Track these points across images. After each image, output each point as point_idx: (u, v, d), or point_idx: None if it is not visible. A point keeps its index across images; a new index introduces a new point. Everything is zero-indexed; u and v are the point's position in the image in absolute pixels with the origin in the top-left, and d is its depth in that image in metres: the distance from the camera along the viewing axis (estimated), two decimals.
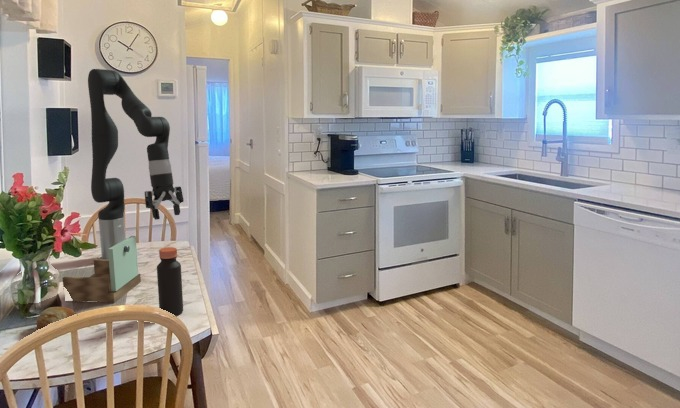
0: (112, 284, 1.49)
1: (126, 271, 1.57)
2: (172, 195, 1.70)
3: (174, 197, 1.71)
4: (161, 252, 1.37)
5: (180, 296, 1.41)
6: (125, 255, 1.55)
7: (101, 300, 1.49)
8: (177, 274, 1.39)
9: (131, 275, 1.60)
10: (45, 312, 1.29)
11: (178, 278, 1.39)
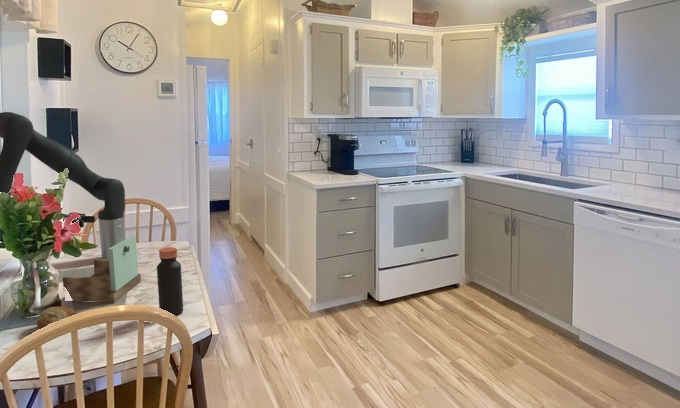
0: (112, 284, 1.49)
1: (126, 271, 1.57)
2: None
3: None
4: (161, 252, 1.37)
5: (180, 296, 1.41)
6: (125, 255, 1.55)
7: (101, 300, 1.49)
8: (177, 274, 1.39)
9: (131, 275, 1.60)
10: (45, 312, 1.29)
11: (178, 278, 1.39)
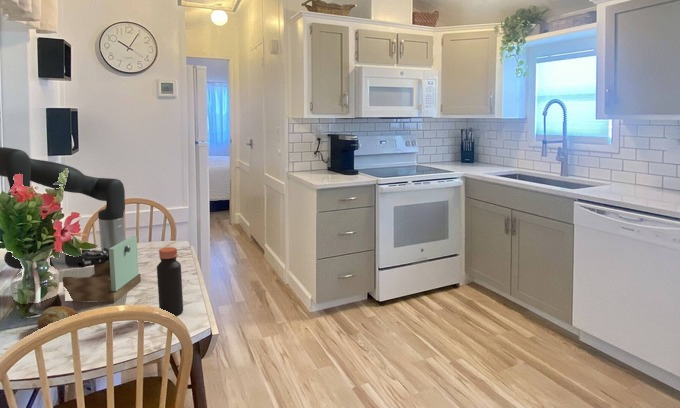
0: (112, 284, 1.49)
1: (127, 271, 1.57)
2: None
3: None
4: (161, 252, 1.37)
5: (180, 296, 1.41)
6: (125, 255, 1.55)
7: (101, 300, 1.49)
8: (177, 274, 1.39)
9: (131, 275, 1.60)
10: (46, 312, 1.29)
11: (178, 278, 1.39)
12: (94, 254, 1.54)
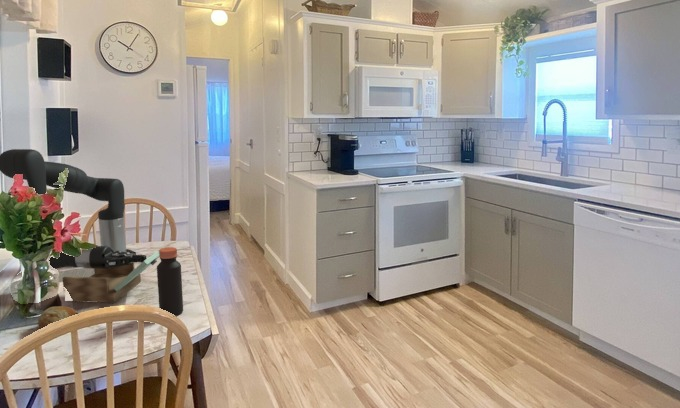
0: (119, 285, 1.49)
1: (136, 275, 1.57)
2: None
3: None
4: (161, 252, 1.37)
5: (180, 296, 1.41)
6: (148, 265, 1.56)
7: (101, 300, 1.49)
8: (177, 274, 1.39)
9: None
10: (47, 311, 1.29)
11: (178, 278, 1.39)
12: (118, 255, 1.54)
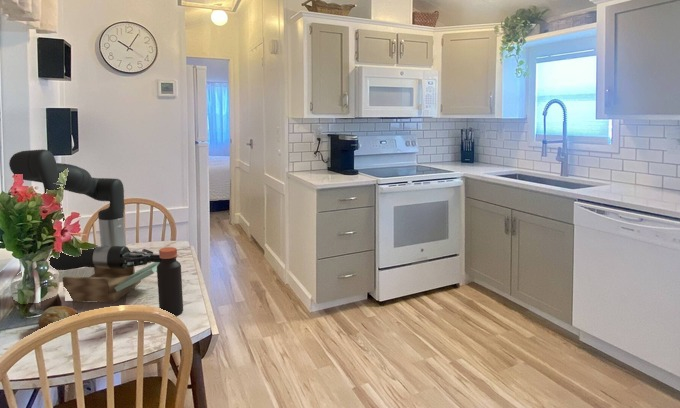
0: (121, 286, 1.49)
1: None
2: None
3: None
4: (161, 252, 1.37)
5: (180, 296, 1.41)
6: None
7: (101, 300, 1.49)
8: (177, 274, 1.39)
9: None
10: (47, 311, 1.29)
11: (178, 278, 1.39)
12: (136, 255, 1.54)
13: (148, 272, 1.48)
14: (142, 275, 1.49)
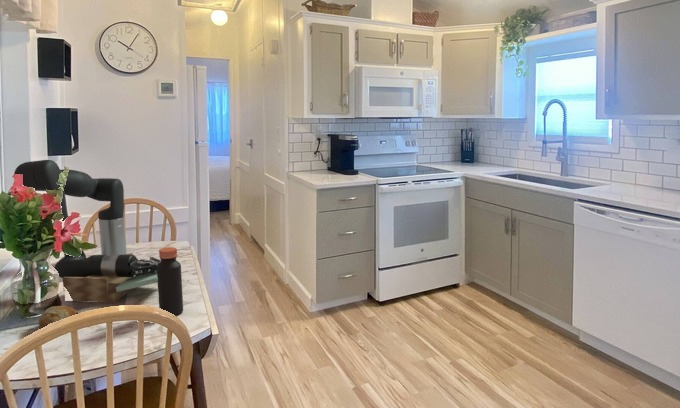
0: (122, 287, 1.49)
1: None
2: None
3: None
4: (161, 252, 1.37)
5: (180, 296, 1.41)
6: None
7: (101, 300, 1.49)
8: (177, 274, 1.39)
9: None
10: (47, 311, 1.29)
11: (178, 278, 1.39)
12: (143, 263, 1.54)
13: (152, 280, 1.49)
14: (146, 281, 1.49)
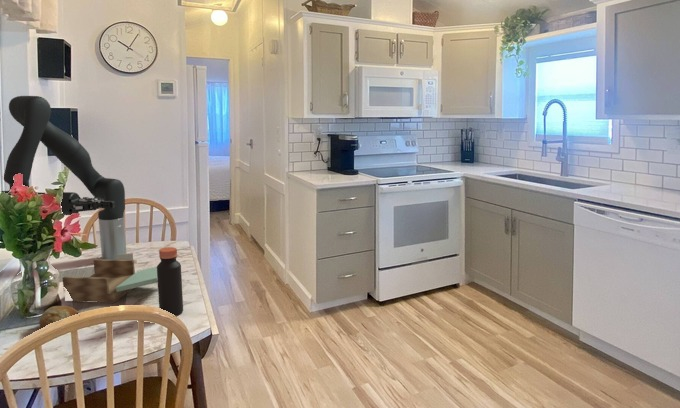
0: (122, 287, 1.49)
1: None
2: None
3: None
4: (161, 252, 1.37)
5: (180, 296, 1.41)
6: None
7: (101, 300, 1.49)
8: (177, 274, 1.39)
9: None
10: (48, 311, 1.29)
11: (178, 278, 1.39)
12: (85, 201, 1.51)
13: (152, 280, 1.49)
14: (146, 281, 1.49)
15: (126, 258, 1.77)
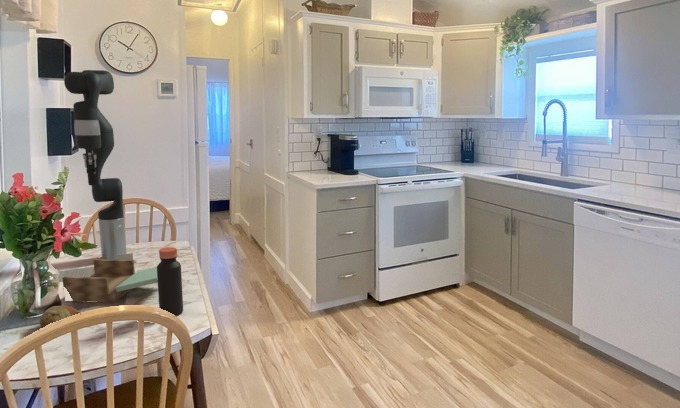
0: (122, 287, 1.49)
1: None
2: (84, 160, 1.57)
3: None
4: (161, 252, 1.37)
5: (180, 296, 1.41)
6: None
7: (101, 300, 1.49)
8: (177, 274, 1.39)
9: None
10: (48, 311, 1.29)
11: (178, 278, 1.39)
12: (94, 161, 1.57)
13: (152, 280, 1.49)
14: (146, 281, 1.49)
15: (126, 258, 1.77)
